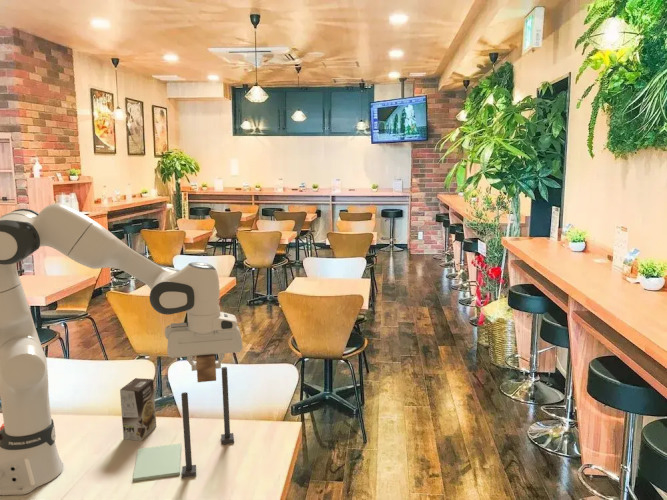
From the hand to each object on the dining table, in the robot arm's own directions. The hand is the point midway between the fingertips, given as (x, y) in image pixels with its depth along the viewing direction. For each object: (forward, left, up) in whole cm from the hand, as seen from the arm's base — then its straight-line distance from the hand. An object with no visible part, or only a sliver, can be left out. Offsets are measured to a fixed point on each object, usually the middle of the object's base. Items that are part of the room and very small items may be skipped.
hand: (206, 368), depth 155 cm
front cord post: (-6, -7, -27) cm, 28 cm away
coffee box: (-21, +19, -27) cm, 39 cm away
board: (-14, 0, -27) cm, 30 cm away
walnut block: (0, 0, -3) cm, 3 cm away
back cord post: (+5, +7, -27) cm, 28 cm away
